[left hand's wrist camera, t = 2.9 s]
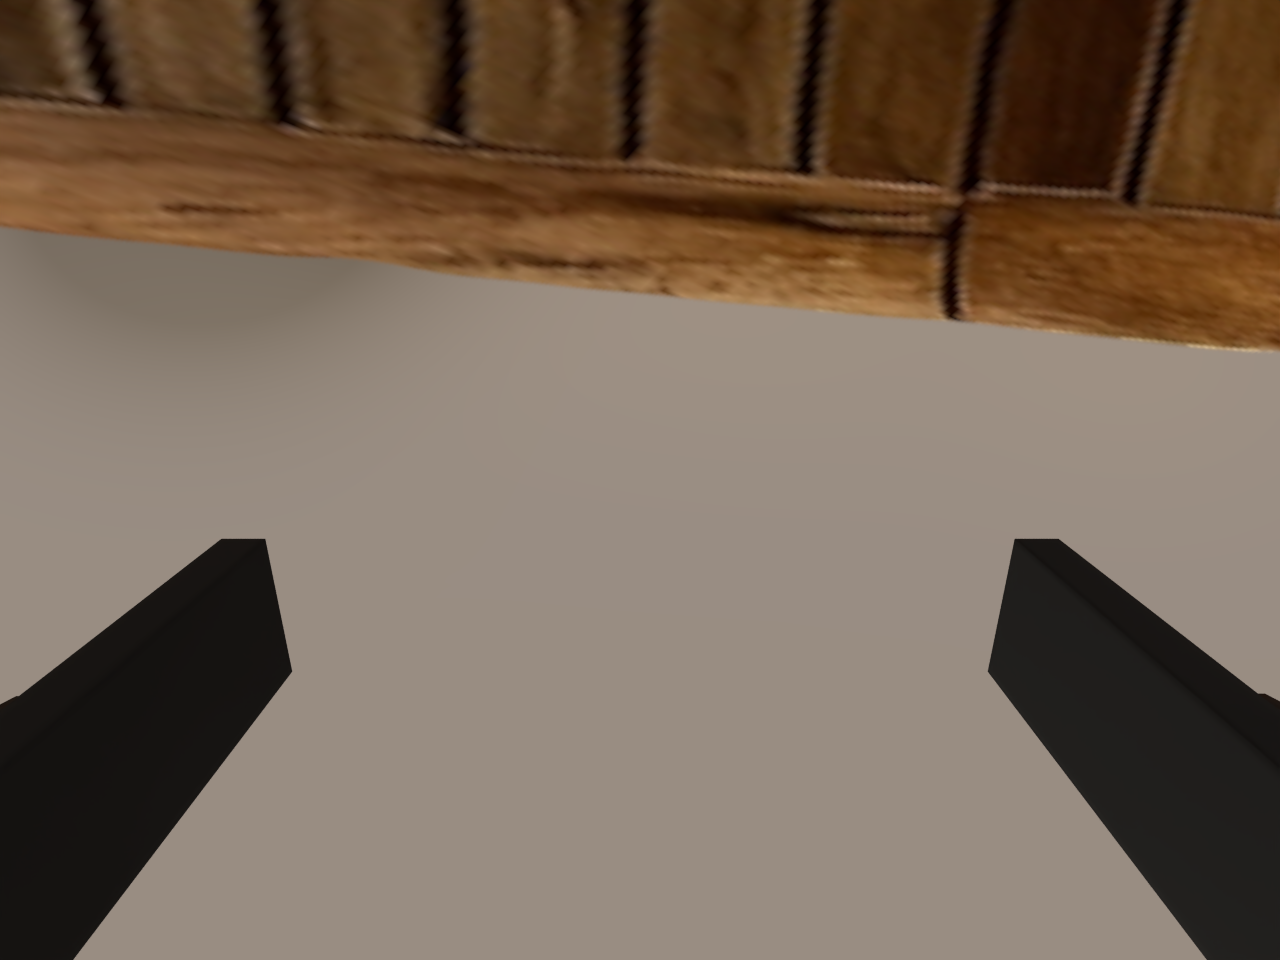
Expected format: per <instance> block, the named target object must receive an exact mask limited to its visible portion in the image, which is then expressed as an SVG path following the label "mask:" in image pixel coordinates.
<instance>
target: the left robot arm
mask: <svg viewBox="0 0 1280 960" xmlns="http://www.w3.org/2000/svg"><path fill="white" fill-rule="evenodd" d="M291 672H292V668H291V663H290V658H289V654H288V649H287V644H286V639H285V634H284V629H283V624H282V619H281V614H280V609H279V604H278V599H277V595H276V590H275V585H274V580H273V575H272V570H271V565H270V560H269V555H268V550H267V545H266V540H265V539H221V540H219V541H218V542H217V543H216V544H214V545H213V546H212V547H210V548H209V549H208V550H207V551H205V552H204V553H203V554H201V555H200V556H199V557H198V558H196V559H195V560H194V561H192V562H191V563H190V564H189V565H187V566H186V567H185V568H183V569H182V570H181V571H179V572H178V573H177V574H176V575H174V576H173V577H172V578H170V579H169V580H168V581H167V582H165V583H164V584H163V585H161V586H160V587H159V588H158V589H156V590H155V591H154V592H152V593H151V594H150V595H149V596H147V597H146V598H145V599H143V600H142V601H141V602H140V603H138V604H137V605H136V606H134V607H133V608H132V609H131V610H129V611H128V612H127V613H125V614H124V615H123V616H122V617H120V618H119V619H118V620H116V621H115V622H114V623H113V624H111V625H110V626H109V627H107V628H106V629H105V630H104V631H102V632H101V633H100V634H98V635H97V636H96V637H94V638H93V639H92V640H91V641H89V642H88V643H87V644H86V645H84V646H83V647H82V648H80V649H79V650H78V651H76V652H75V653H74V654H73V655H71V656H70V657H69V658H67V659H66V660H65V661H64V662H62V663H61V664H60V665H59V666H57V667H56V668H55V669H53V670H52V671H51V672H50V673H48V674H47V675H46V676H44V677H43V678H42V679H40V680H39V681H38V682H37V683H35V684H34V685H33V686H31V687H30V688H29V689H28V690H26V691H25V692H24V693H22V694H21V695H20V696H16V697H14V698H12V699H10V700H8V701H6V702H4V703H2V704H0V960H73V959H74V958H75V957H76V955H77V954H78V953H79V951H80V950H81V949H82V947H83V946H84V945H85V943H86V942H87V941H88V939H89V938H90V937H91V936H92V934H93V933H94V932H95V930H96V929H97V928H98V926H99V925H100V924H101V922H102V921H103V920H104V918H105V917H106V916H107V914H108V913H109V912H110V911H111V909H112V908H113V907H114V905H115V904H116V903H117V901H118V900H119V899H120V897H121V896H122V895H123V893H124V892H125V891H126V889H127V888H128V887H129V886H130V884H131V883H132V882H133V880H134V879H135V878H136V876H137V875H138V874H139V872H140V871H141V870H142V868H143V867H144V866H145V864H146V863H147V862H148V860H149V859H150V858H151V857H152V855H153V854H154V853H155V851H156V850H157V849H158V847H159V846H160V845H161V843H162V842H163V841H164V839H165V838H166V837H167V836H168V834H169V833H170V832H171V830H172V829H173V828H174V826H175V825H176V824H177V822H178V821H179V820H180V818H181V817H182V816H183V814H184V813H185V812H186V811H187V809H188V808H189V807H190V805H191V804H192V803H193V801H194V800H195V799H196V797H197V796H198V795H199V793H200V792H201V791H202V789H203V788H204V787H205V785H206V784H207V783H208V782H209V780H210V779H211V778H212V776H213V775H214V774H215V772H216V771H217V770H218V768H219V767H220V766H221V764H222V763H223V762H224V761H225V759H226V758H227V757H228V755H229V754H230V753H231V751H232V750H233V749H234V747H235V746H236V745H237V743H238V742H239V741H240V740H241V738H242V737H243V736H244V734H245V733H246V732H247V730H248V729H249V728H250V726H251V725H252V724H253V722H254V721H255V720H256V718H257V717H258V716H259V714H260V713H261V712H262V710H263V709H264V708H265V707H266V705H267V704H268V703H269V701H270V700H271V699H272V697H273V696H274V695H275V693H276V692H277V691H278V690H279V688H280V687H281V686H282V684H283V683H284V682H285V680H286V679H287V678H288V676H289V675H290V674H291ZM988 672H989V674H990V675H991V676H992V678H993V679H994V680H995V682H996V683H997V684H998V685H999V687H1000V688H1001V690H1002V691H1003V692H1004V693H1005V695H1006V696H1007V697H1008V699H1009V700H1010V701H1011V703H1012V704H1013V705H1014V707H1015V708H1016V709H1017V710H1018V712H1019V713H1020V714H1021V716H1022V717H1023V718H1024V720H1025V721H1026V722H1027V724H1028V725H1029V726H1030V728H1031V729H1032V730H1033V732H1034V733H1035V734H1036V736H1037V737H1038V738H1039V740H1040V741H1041V742H1042V743H1043V745H1044V746H1045V747H1046V749H1047V750H1048V751H1049V753H1050V754H1051V755H1052V757H1053V758H1054V759H1055V761H1056V762H1057V763H1058V764H1059V766H1060V767H1061V768H1062V770H1063V771H1064V772H1065V774H1066V775H1067V776H1068V778H1069V779H1070V780H1071V781H1072V783H1073V784H1074V786H1075V787H1076V788H1077V790H1078V791H1079V792H1080V793H1081V795H1082V796H1083V797H1084V799H1085V800H1086V801H1087V803H1088V804H1089V805H1090V807H1091V808H1092V809H1093V810H1094V812H1095V813H1096V814H1097V816H1098V817H1099V818H1100V820H1101V821H1102V822H1103V824H1104V825H1105V826H1106V828H1107V829H1108V830H1109V832H1110V833H1111V834H1112V836H1113V837H1114V838H1115V839H1116V841H1117V842H1118V843H1119V845H1120V846H1121V847H1122V849H1123V850H1124V851H1125V853H1126V854H1127V855H1128V857H1129V858H1130V859H1131V861H1132V862H1133V863H1134V864H1135V866H1136V867H1137V868H1138V870H1139V871H1140V872H1141V874H1142V875H1143V876H1144V878H1145V879H1146V880H1147V882H1148V883H1149V884H1150V886H1151V887H1152V888H1153V889H1154V891H1155V892H1156V893H1157V895H1158V896H1159V897H1160V899H1161V900H1162V901H1163V903H1164V904H1165V905H1166V906H1167V908H1168V909H1169V911H1170V912H1171V913H1172V914H1173V916H1174V917H1175V918H1176V920H1177V921H1178V922H1179V924H1180V925H1181V926H1182V928H1183V929H1184V930H1185V932H1186V933H1187V934H1188V936H1189V937H1190V938H1191V939H1192V941H1193V942H1194V943H1195V945H1196V946H1197V947H1198V949H1199V950H1200V951H1201V953H1202V954H1203V955H1204V957H1205V958H1206V959H1207V960H1280V701H1278V700H1276V699H1274V698H1272V697H1270V696H1268V695H1266V694H1258V693H1256V692H1255V691H1254V690H1252V689H1251V688H1250V687H1249V686H1247V685H1246V684H1245V683H1243V682H1242V681H1241V680H1240V679H1238V678H1237V677H1236V676H1234V675H1233V674H1232V673H1231V672H1229V671H1228V670H1227V669H1225V668H1224V667H1223V666H1221V665H1220V664H1219V663H1218V662H1216V661H1215V660H1214V659H1213V658H1211V657H1210V656H1209V655H1207V654H1206V653H1205V652H1204V651H1202V650H1201V649H1200V648H1198V647H1197V646H1196V645H1195V644H1193V643H1192V642H1191V641H1189V640H1188V639H1187V638H1186V637H1184V636H1183V635H1182V634H1180V633H1179V632H1178V631H1176V630H1175V629H1174V628H1173V627H1171V626H1170V625H1169V624H1167V623H1166V622H1165V621H1164V620H1162V619H1161V618H1160V617H1158V616H1157V615H1156V614H1155V613H1153V612H1152V611H1151V610H1149V609H1148V608H1147V607H1146V606H1144V605H1143V604H1142V603H1140V602H1139V601H1138V600H1137V599H1135V598H1134V597H1133V596H1131V595H1130V594H1129V593H1128V592H1126V591H1125V590H1124V589H1122V588H1121V587H1120V586H1119V585H1117V584H1116V583H1115V582H1113V581H1112V580H1111V579H1110V578H1108V577H1107V576H1106V575H1104V574H1103V573H1102V572H1101V571H1099V570H1098V569H1097V568H1095V567H1094V566H1093V565H1092V564H1090V563H1089V562H1088V561H1086V560H1085V559H1084V558H1082V557H1081V556H1080V555H1079V554H1077V553H1076V552H1075V551H1073V550H1072V549H1071V548H1070V547H1068V546H1067V545H1066V544H1064V543H1063V542H1062V541H1061V540H1059V539H1015V540H1014V545H1013V550H1012V555H1011V560H1010V565H1009V570H1008V575H1007V580H1006V585H1005V590H1004V594H1003V600H1002V604H1001V609H1000V614H999V619H998V624H997V629H996V634H995V639H994V644H993V649H992V654H991V659H990V663H989V668H988Z"/></svg>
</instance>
